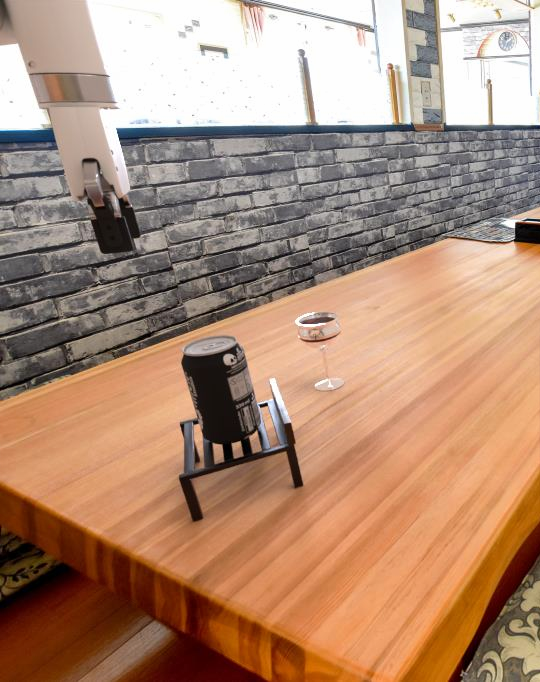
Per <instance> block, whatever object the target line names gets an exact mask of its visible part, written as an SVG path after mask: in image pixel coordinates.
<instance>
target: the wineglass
mask: <svg viewBox="0 0 540 682" xmlns="http://www.w3.org/2000/svg"><path fill="white" fill-rule="evenodd" d="M338 319H339V314H338V313H336V312H333V311H318V312H312V313H307V314H304V315H302V316H300V317H298V318H297V319H296V320H295V323H296V325H298V328H297V335H298V339H299V340H300V341H301V343H302V344H304V345H306V346H307V347H309V348H311V349H314V350H318V352H321V353H320V354H321V357H322V361H323V365H324V369H325V375H326V378H324V379H321V380H319V381H317V382H316V383H314V389H315V390H318V391H322V392H327V391H328V392H329V391H333V390H337V389H339V388H341V387H342V386H344V385H345V380H344V378H341V377H330V368H329V363H328V356H327V355H328V354H327V350H328V349H329V348H330V347H332V346H333V345H334V344H336V342H337V341H338V340H339V339H340V337H341V333H342V327H341V324H340V322H339V321H338Z"/></svg>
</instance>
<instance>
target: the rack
mask: <svg viewBox="0 0 540 682" xmlns="http://www.w3.org/2000/svg"><path fill="white" fill-rule="evenodd" d="M268 383H269V387H270V391H271V396H272V398H270V399H266V400H262V401H259V402H258V401H257V405H258V409H259V413H260V417H261V424H260V426H259V427H258V429H257V431H256V432H257V436H258V441H259V444H260V448H261V450H259V451H255V452H253V448H252V443H251V438H250V437H248V438H246V439H244V440H242V441H240V446H241V452H242V455H241V456H239V457H234V449H233V443H232V444H224V445H221V449H222V457H223V461H222V462H218V463H216V460H215V449H214V443H212V442H210V441H208V440H206V439H205V438H204V437H203V435H202V450H203V451H202V452H203V465H204V466H203V467H201V468H196V464H197V463H201V457H200V453H199V450H198V447H197V443H196V440H195V426H196V425H199V421H198V418H197V417H195V418H190V419H186V420H183V421H180V422H179V427H180V432H181V434H182V437H183V473H180V474H178V480H179V484H180V487H181V489H182V493H183V496H184V499H185V502H186V505H187V508H188V510H189V514H190V517H191V521H192V522H197V521H200V520H203V519H204V514H203V510H202V507H201V504H200V501H199V497H198V495H197V491H196V489H195V485H194V482H193V479H196V478H200V477H203V476H208V475H211V474H214V473H217V472H220V471H224V470H227V469H231V468H234V467H238V466H241V465H245V464H248V463H251V462H255V461H258V460H262V459H265V458H268V457H272V456H275V455H278V454H282V453H286V458H287V462H288V465H289V470H290V475H291V478H292V483H293V486H294V489H297V488H301V487H303V486H304V481H303V477H302V473H301V468H300V464H299V460H298V456H297V455H298V454H297V451H296V446H295V445H296V444H297V441H296V438H295V434H294V429H293V424H292V420H291V418H290V416H289V413H288V410H287V407H286V404H285V402H284V399H283V396H282V393H281V391H280V388H279V385H278V383H277V380H276V378H269V379H268ZM266 407H267V409H268V411H269V415H270V418H271V422H272V425H273V428H274V432H275V435H276V438H277V442H278V445H276V446H274V447H272V445H271V443H270V439H269V436H268V432H267V429H266V425H265V421H264V417H263V413H262V410H261V409H263V408H266Z"/></svg>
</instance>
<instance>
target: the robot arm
mask: <svg viewBox="0 0 540 682" xmlns="http://www.w3.org/2000/svg"><path fill="white" fill-rule="evenodd" d="M9 45H10V46H11V45H18V48H19V51H20V55H21V58H22V60H23V64H24V66H25V70H26V73H27V75H28V78H29V82H30V84H31V88H32V90H33V93H34V97H35V100H36V103H37V106H38V108H39V110H49V116H50V122H51V126H52V131H53V134H54V139H55V142H56V143H55V144H56V146H57V149H58V153H59V157H60V160H61V164H62V167H63V171H64V174H65V177H66V183H67V185H68V189H69V193H70V196H71V198H72V199H74V200H75V201H77V202H82V201H85V200H86V203H87V208H88V214H89V217H90V220H89V221H90V224H91V227H92V230H93V233H94V236H95V239H96V242H97V246H98V248H99V249H98V250H99V251H100V253H101V254H103V255H111V254H121V253H129V252H133V251H134V249H135V247H134V244H133V243H134V242H133V240H134V239H140V238H141V236H142V233H141V230H140V226H139V223H138V219H137V216H136V212H135V209H134V207H133V206H132V203H131V199H130V197H129V195H128V193H129V192H130V191H131V185H130V179H129V175H128V171H127V166H126V162H125V159H124V154H123V151H122V147H121V143H120V141H119V140H120V139H119V136H118V133H117V129H116V126H115V123H114V122H115V121H114V119H113V116H112V112H111V110H121V109H122V106H121V103H120V99H119V96H118V92H117V91H118V90H117V87H116V84H115V80H114V78H113V74H112V70H111V66H110V62H109V59H108V56H107V55H108V54H107V51H106V48H105V43H104V40H103V38H102V34H101V30H100V26H99V23H98V19H97V16H96V12H95V8H94V5H93V1H92V0H0V47H1V46H9Z"/></svg>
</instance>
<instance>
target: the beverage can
mask: <svg viewBox="0 0 540 682" xmlns="http://www.w3.org/2000/svg"><path fill="white" fill-rule="evenodd" d="M181 352H182V354H183V355H182V357H181V362H180V365H181V368H182V371H183V375H184V377H185V381H186V384H187V388H188V391H189V394H190V397H191V401H192V405H193V407H194V411H195V414H196V418H198V421H199V424H198V425H199V428H200V432H201V434H202V435H203V436H202V438H203V437H204V438H205V439H206V440H208V441H210V442H212V443H213V445H221V446H222V445H224V444H232V445H233V444H236V443H239V442H241V441H242V440H244V439H246V438H248V437H249V438H250V437H251V436H253V435H254V434H255V433H256V432H257V429H258V427H259V426H260V424H261V417H260V413H259V409H258V405H257V403H258V401H257V397H256V392H255V390H254V385H253V381H252V377H251V372H250V369H249V365H248V361H247V357H246V353H245V349H244V348H243V346H241V345H240V343H238V338H237V337H236V336H234V335H230V334H218V335H217V334H216V335H209V336H205V337H201V338H198V339H195V340H192V341H190V342H188V343H187V344H185V345H184V346H182V348H181Z"/></svg>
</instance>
